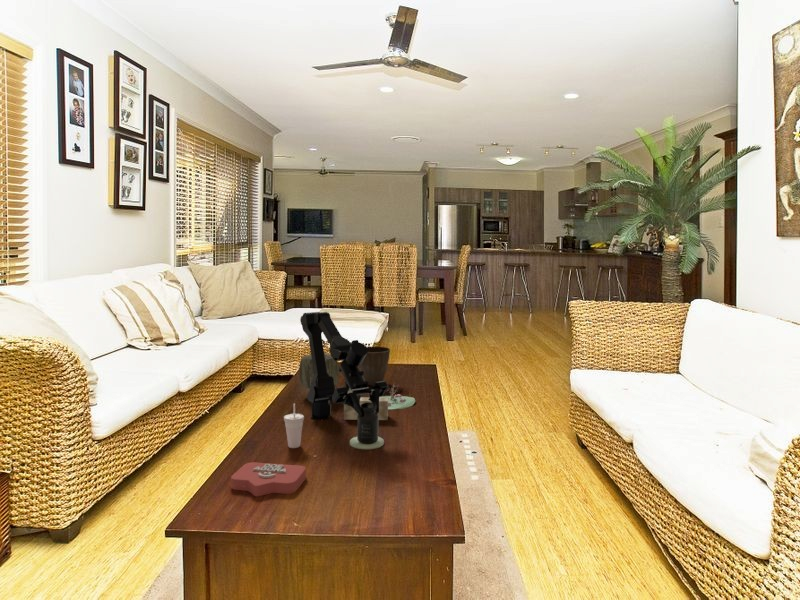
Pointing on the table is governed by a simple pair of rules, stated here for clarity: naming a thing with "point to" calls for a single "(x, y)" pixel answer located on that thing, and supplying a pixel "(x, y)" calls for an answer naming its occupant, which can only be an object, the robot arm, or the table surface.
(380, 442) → the green pad
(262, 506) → the table surface
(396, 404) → the decorated green tray
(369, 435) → the supplement bottle
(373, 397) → the robot arm
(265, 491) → the plaque
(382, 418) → the block
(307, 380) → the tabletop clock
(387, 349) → the plant pot
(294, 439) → the smoothie
